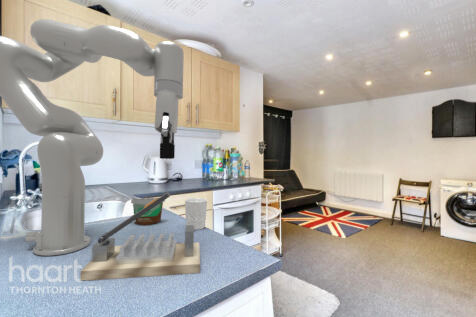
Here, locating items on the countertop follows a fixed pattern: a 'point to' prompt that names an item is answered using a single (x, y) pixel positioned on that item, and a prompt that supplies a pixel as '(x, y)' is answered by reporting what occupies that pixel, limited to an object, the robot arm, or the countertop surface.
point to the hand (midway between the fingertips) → (167, 157)
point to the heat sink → (143, 249)
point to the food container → (150, 216)
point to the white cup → (196, 212)
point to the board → (143, 266)
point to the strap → (134, 217)
